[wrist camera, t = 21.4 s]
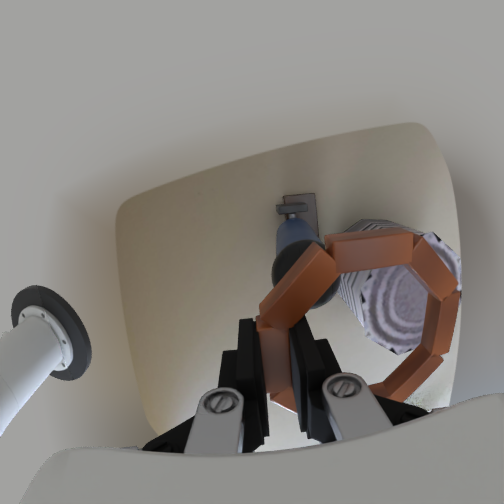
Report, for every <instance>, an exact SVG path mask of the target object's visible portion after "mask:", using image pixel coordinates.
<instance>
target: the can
mask: <svg viewBox="0 0 504 504" xmlns="http://www.w3.org/2000/svg"><path fill="white" fill-rule="evenodd" d="M394 227H400V228H403V229H405V230H408V231H411V232H413V233H415V234H418V235H420V236H423V237H424V238H425V240H426V241H427V242H428V243H429V245H430V246H431V247H432V248H433V249H434V251H435V252H436V253H437V254H438V256H439V257H440V258H441V260H442V261H443V262H444V263H445V265H446V266H447V267H448V269H449V270H450V271H451V273H452V274H453V275H454V277H455V278H456V279H457V281H458V283H459V284H458V285H457V287H456V288H455V289H457V290H458V291H460V300H459V305H460V303H461V258H460V257H459V256H458V255H457V254H456V253H455V252H454V251H453V250H452V249H451V248H450V247H449V246H447V245H446V244H445V243H444V242H443V241H442V240H441V239H440V238H439V237H438V236H437V235H436V234H435V233H433V232H429V233H426V234H425V233H423V232H420V231H417V230H414V229H411V228H408V227H406V226H403V225H400V224H397V223H394V222H391V221H388V220H371V219H361V220H360V221H359V222H357V223H356V224H354V225H353V226H352V227H350V228H349V229H348V230H346V231H345V232H344V233H347V232H356V231H366V230H375V229H384V228H394ZM337 292H338V293H339V294H340V296H341V297H342V298H343V300H344V301H345V302H346V304H347V305H348V306H349V308H350V309H351V310H352V312H353V313H354V314H355V316H356V317H357V318H358V320H359V321H360V322H361V324H362V325H363V326H364V328H365V336H366V337H367V338H369V339H371V340H372V341H374V342H376V343H378V344H379V345H381V346H383V347H385V348H386V349H388V350H390V351H392V352H393V353H395V354H397V355H400V354H403V353H405V352H408V351H411V350H413V349H416V347H417V346H418V345H419V344H420V343H421V337H422V331H423V325H424V319H425V312H426V304H427V295H428V292H427V291H426V290H425V288H424V287H423V286H422V285H421V284H420V283H419V282H418V281H417V280H416V279H415V277H414V276H413V275H412V274H411V273H410V272H409V271H408V270H407V269H406V268H405V267H404V266H403V265H397V266H391V267H384V268H378V269H371V270H365V271H358V272H351V273H344V274H341V282H340V285H339V288H338V290H337ZM458 307H459V306H458Z"/></svg>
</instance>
